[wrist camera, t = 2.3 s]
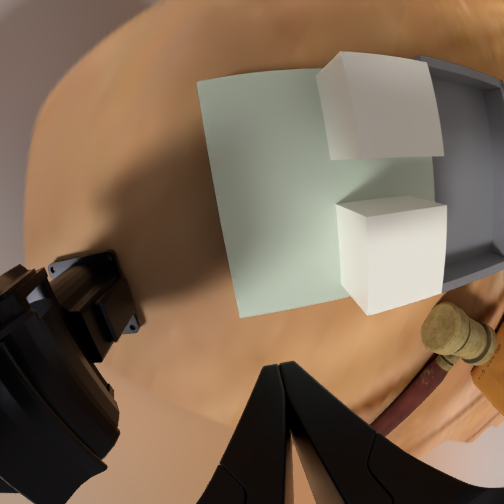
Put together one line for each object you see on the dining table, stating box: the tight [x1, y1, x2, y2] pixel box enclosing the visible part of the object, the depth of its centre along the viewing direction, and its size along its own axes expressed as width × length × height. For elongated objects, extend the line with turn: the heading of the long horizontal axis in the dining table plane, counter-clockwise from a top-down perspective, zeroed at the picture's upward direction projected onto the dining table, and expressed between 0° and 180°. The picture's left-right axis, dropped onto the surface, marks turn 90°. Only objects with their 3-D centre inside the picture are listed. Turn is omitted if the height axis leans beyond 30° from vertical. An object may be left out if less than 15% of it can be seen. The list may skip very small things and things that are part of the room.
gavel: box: [370, 302, 497, 437], centre depth 23 cm, size 21×5×10 cm
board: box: [197, 68, 435, 318], centre depth 16 cm, size 14×14×2 cm
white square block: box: [336, 195, 447, 316], centre depth 14 cm, size 5×5×4 cm
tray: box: [412, 55, 504, 293], centre depth 16 cm, size 11×17×3 cm, turn 9°
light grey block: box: [315, 51, 444, 160], centre depth 12 cm, size 5×5×4 cm
